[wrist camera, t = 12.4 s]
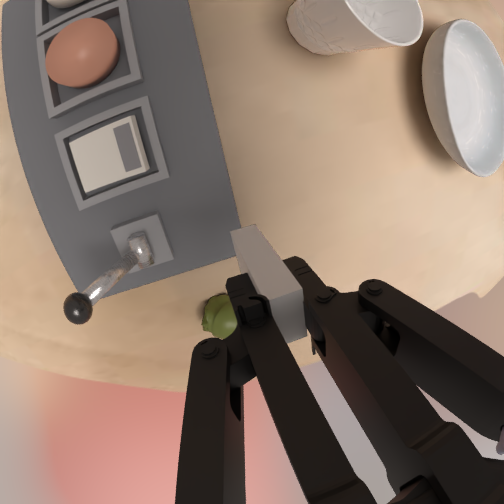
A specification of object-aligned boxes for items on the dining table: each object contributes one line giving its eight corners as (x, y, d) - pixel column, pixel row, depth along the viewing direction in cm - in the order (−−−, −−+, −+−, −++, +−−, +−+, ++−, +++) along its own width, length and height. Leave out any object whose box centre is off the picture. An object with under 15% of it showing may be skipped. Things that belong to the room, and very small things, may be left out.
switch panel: (171, -51, 12) (173, -76, 8) (239, 238, 27) (252, 261, 23) (15, 12, 9) (-5, 0, 5) (91, 286, 25) (81, 314, 21)
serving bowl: (479, 163, 32) (510, 176, 26) (400, 165, 28) (443, 180, 22) (474, 46, 22) (507, 48, 16) (387, 3, 18) (429, -8, 12)
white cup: (280, 54, 20) (340, 26, 11) (279, -13, 16) (331, -59, 8) (353, 67, 22) (427, 59, 13) (350, 5, 18) (416, -19, 9)
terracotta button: (115, 19, 12) (108, 7, 10) (125, 73, 15) (119, 66, 13) (55, 45, 12) (42, 38, 9) (64, 99, 14) (50, 97, 12)
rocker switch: (134, 115, 16) (129, 115, 15) (149, 168, 18) (145, 171, 17) (75, 141, 16) (68, 143, 15) (90, 189, 18) (84, 193, 17)
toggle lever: (150, 231, 19) (64, 306, 13) (161, 259, 20) (85, 336, 14) (132, 231, 20) (51, 300, 14) (143, 258, 21) (70, 328, 15)
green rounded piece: (291, 357, 29) (198, 352, 27) (282, 326, 34) (201, 320, 32) (306, 319, 26) (202, 311, 25) (294, 289, 31) (205, 280, 30)
